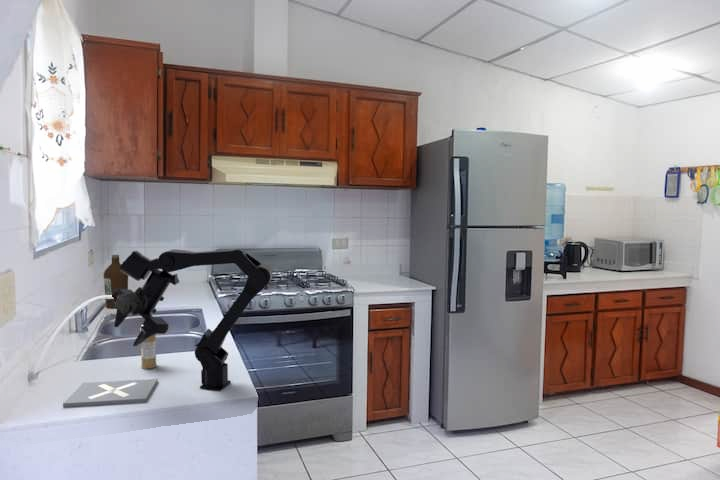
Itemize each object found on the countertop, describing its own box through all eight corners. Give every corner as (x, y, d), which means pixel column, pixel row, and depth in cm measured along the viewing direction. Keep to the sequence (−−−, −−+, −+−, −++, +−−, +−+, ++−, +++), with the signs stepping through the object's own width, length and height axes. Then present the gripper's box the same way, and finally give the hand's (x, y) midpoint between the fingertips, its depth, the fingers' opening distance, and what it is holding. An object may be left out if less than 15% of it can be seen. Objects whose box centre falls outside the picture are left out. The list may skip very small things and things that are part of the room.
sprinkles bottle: (144, 364, 158) (142, 323, 157) (158, 364, 158) (157, 323, 157) (139, 369, 153) (137, 327, 152) (154, 369, 154) (153, 327, 152)
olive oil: (123, 303, 245) (122, 253, 242) (132, 306, 237) (131, 255, 235) (101, 306, 237) (99, 255, 235) (109, 310, 230) (107, 257, 227)
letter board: (157, 382, 143) (157, 378, 143) (146, 402, 129) (145, 398, 129) (83, 386, 139) (83, 382, 139) (63, 407, 126) (62, 403, 126)
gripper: (110, 268, 134) (81, 316, 134) (152, 306, 126) (121, 357, 127) (142, 273, 144) (114, 317, 145) (182, 308, 137) (153, 355, 137)
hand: (125, 336), depth 138 cm, fingers open, 9 cm apart
